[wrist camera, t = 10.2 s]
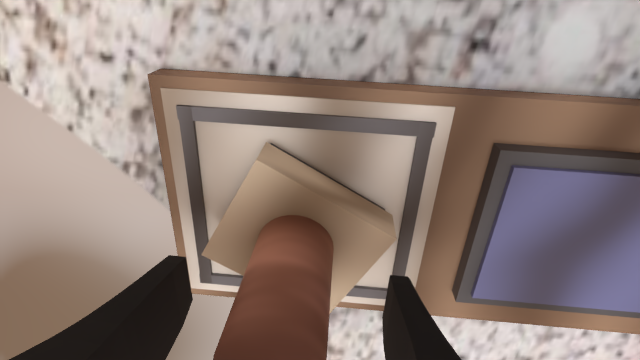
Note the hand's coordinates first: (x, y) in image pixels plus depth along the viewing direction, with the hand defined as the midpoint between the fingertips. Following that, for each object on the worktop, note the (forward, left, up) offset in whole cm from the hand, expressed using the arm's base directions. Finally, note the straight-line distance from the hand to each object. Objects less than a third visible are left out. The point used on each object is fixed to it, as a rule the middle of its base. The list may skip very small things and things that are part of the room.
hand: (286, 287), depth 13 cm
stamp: (0, 0, -5) cm, 5 cm away
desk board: (-6, 0, -6) cm, 9 cm away
